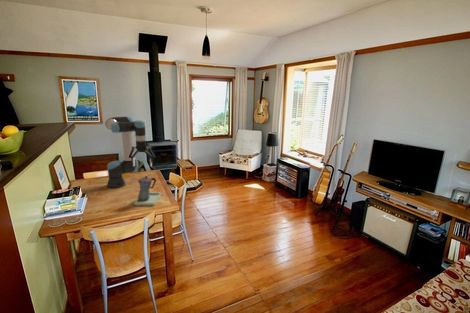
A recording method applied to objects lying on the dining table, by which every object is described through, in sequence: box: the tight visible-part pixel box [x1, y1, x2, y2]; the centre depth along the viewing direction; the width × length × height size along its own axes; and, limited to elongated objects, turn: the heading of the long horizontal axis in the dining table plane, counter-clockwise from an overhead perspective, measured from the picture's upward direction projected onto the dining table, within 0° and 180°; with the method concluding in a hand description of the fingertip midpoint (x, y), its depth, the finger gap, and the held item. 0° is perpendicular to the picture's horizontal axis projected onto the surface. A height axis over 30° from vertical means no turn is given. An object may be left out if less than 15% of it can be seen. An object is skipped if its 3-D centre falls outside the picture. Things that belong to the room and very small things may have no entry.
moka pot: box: [137, 176, 157, 200], centre depth 199 cm, size 10×15×20 cm, turn 137°
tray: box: [133, 191, 162, 207], centre depth 201 cm, size 21×16×2 cm
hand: (142, 166), depth 194 cm, fingers open, 13 cm apart
